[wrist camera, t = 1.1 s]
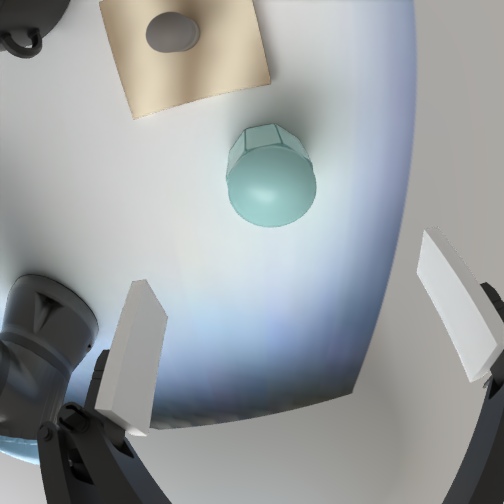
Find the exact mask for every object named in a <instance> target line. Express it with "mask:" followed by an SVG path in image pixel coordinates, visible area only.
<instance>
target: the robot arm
mask: <svg viewBox="0 0 504 504" xmlns="http://www.w3.org/2000/svg"><path fill="white" fill-rule="evenodd" d="M417 275H418V276H419V278H420V280H421V281H422V283H423V285H424V287H425V289H426V291H427V292H428V294H429V296H430V298H431V300H432V302H433V304H434V305H435V307H436V309H437V311H438V313H439V315H440V317H441V319H442V321H443V323H444V325H445V327H446V329H447V331H448V333H449V335H450V338H451V340H452V342H453V344H454V346H455V348H456V351H457V353H458V355H459V357H460V359H461V362H462V364H463V367H464V368H465V371H466V374H467V376H468V378H469V381H470V382H473V381H475V380H477V379H479V378H482V377H484V376H485V375H486V373H487V372H488V371H489V369H490V371H491V373H492V375H491V377H490V378H489V379H488V380H487V381H486V383H485V384H484V386H483V388H486V386H487V385H488V388H487V392H486V396H485V399H484V403H483V406H482V409H481V413H480V416H479V419H478V422H477V425H476V428H475V431H474V433H473V436H472V439H471V442H470V444H469V447H468V449H467V452H466V454H465V457H464V459H463V461H462V464H461V466H460V468H459V470H458V473H457V475H456V477H455V479H454V481H453V483H452V485H451V487H450V489H449V491H448V493H447V495H446V497H445V499H444V501H443V503H442V504H503V502H504V302H503V301H502V300H501V298H500V296H499V294H498V293H497V291H496V290H495V289H494V288H493V287H492V286H490V285H489V284H488V283H487V282H485V283H482V284H479V283H478V281H477V280H476V278H475V277H474V275H473V274H472V272H471V271H470V269H469V268H468V266H467V265H466V264H465V262H464V261H463V260H462V258H461V257H460V255H459V254H458V253H457V251H456V250H455V249H454V248H453V246H452V245H451V244H450V242H449V241H448V239H447V238H446V237H445V236H444V235H443V233H442V232H441V231H440V229H439V228H438V227H432V228H427V229H424V233H423V240H422V246H421V252H420V257H419V263H418V268H417ZM167 319H168V316H167V314H166V313H165V311H164V310H163V308H162V306H161V305H160V303H159V301H158V299H157V298H156V296H155V294H154V293H153V291H152V289H151V287H150V286H149V284H148V282H147V280H146V279H145V280H139V281H133V282H132V284H131V287H130V289H129V292H128V295H127V298H126V301H125V304H124V307H123V310H122V313H121V316H120V319H119V322H118V325H117V328H116V332H115V335H114V338H113V341H112V345H111V348H110V350H103V351H102V353H101V354H100V356H99V357H98V359H97V361H96V364H95V368H94V372H93V375H92V380H91V382H90V386H89V389H88V393H87V397H86V401H85V405H84V408H82V407H81V406H80V405H78V404H77V403H75V402H68V403H66V404H64V405H63V401H64V397H65V394H66V390H67V387H68V383H69V380H70V377H71V374H72V372H73V371H74V370H75V368H76V367H77V366H78V365H79V363H80V362H81V361H82V360H83V358H84V357H85V356H86V354H87V353H88V352H89V351H90V350H91V348H92V347H93V345H94V342H95V340H96V337H97V334H98V324H97V321H96V319H95V317H94V315H93V313H92V312H91V310H90V309H89V308H88V306H87V305H86V304H85V303H84V302H83V301H82V300H81V299H80V298H79V297H78V296H77V295H75V294H74V293H73V292H72V291H70V290H69V289H67V288H66V287H64V286H63V285H61V284H59V283H57V282H55V281H53V280H51V279H48V278H46V277H42V276H37V275H25V276H22V277H20V278H19V279H18V280H17V281H16V282H15V284H14V285H13V287H12V289H11V290H10V292H9V295H8V298H7V304H6V308H5V314H4V319H3V325H2V330H1V333H0V452H2V453H5V454H7V455H10V456H12V457H15V458H18V459H20V460H23V461H26V462H29V463H33V464H40V468H41V474H42V480H43V485H44V490H45V495H46V500H47V504H172V503H171V502H170V501H169V499H168V498H167V497H166V496H165V494H164V493H163V491H162V490H161V489H160V487H159V486H158V485H157V483H156V482H155V480H154V479H153V478H152V476H151V475H150V473H149V472H148V470H147V469H146V468H145V466H144V465H143V463H142V461H141V460H140V458H139V457H138V455H137V454H136V452H135V451H134V449H133V447H132V446H131V444H130V442H129V441H128V439H127V438H126V437H125V430H126V431H127V432H129V433H130V434H132V435H138V436H148V433H149V425H150V418H151V411H152V404H153V398H154V391H155V385H156V379H157V373H158V367H159V361H160V356H161V350H162V345H163V339H164V334H165V329H166V324H167ZM62 405H63V406H62Z"/></svg>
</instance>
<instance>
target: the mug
mask: <svg viewBox="0 0 504 504" xmlns="http://www.w3.org/2000/svg"><path fill="white" fill-rule="evenodd" d="M69 1H70V0H0V52H1V51H6V50H7V51H8V52H10V53H11V54H12V55H14V56H17V57H19V58H32V57H34V56H36V55H37V54H38V53H39V52H40V51H41V49H42V38H43V37H44V36H45V35H46V34H48V33H49V32H50V31H51V30H52V29H53V28H54V26H55V25H56V24H57V23H58V21H59V20H60V19H61V17H62V15H63V14H64V12H65V10H66V8H67V6H68V4H69ZM31 44H32V48H25V47H26V46H29V45H31Z"/></svg>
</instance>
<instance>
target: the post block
mask: <svg viewBox="0 0 504 504" xmlns="http://www.w3.org/2000/svg"><path fill="white" fill-rule="evenodd" d="M99 6H100V10H101V13H102V17H103V21H104V25H105V29H106V32H107V36H108V39H109V43H110V46H111V50H112V53H113V57H114V60H115V63H116V67H117V70H118V73H119V76H120V80H121V83H122V86H123V89H124V92H125V95H126V98H127V101H128V104H129V107H130V110H131V113H132V116H133V119H134V120H135V119H138V118H141V117H144V116H147V115H150V114H153V113H156V112H159V111H162V110H165V109H168V108H172V107H175V106H178V105H182V104H185V103H189V102H193V101H196V100H200V99H204V98H208V97H212V96H216V95H220V94H224V93H229V92H233V91H238V90H242V89H247V88H252V87H258V86H263V85H269V84H271V80H270V75H269V71H268V66H267V61H266V57H265V52H264V48H263V44H262V39H261V35H260V31H259V27H258V22H257V18H256V14H255V10H254V6H253V2H252V0H103V1H101V2H99Z"/></svg>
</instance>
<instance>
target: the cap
mask: <svg viewBox="0 0 504 504" xmlns="http://www.w3.org/2000/svg"><path fill="white" fill-rule="evenodd" d="M226 181H227V185H228V194H229V199H230V202H231V204H232V206H233V208H234V209H235V211H236V212H237V213H238V214H239V215H240V216H241V217H242V218H243V219H245V220H246V221H248V222H250V223H252V224H255V225H258V226H262V227H280V226H284V225H287V224H290V223H292V222H294V221H296V220H297V219H299V218H300V217H302V216H303V215H304V214H305V213H306V212H307V211H308V209H309V208H310V207H311V205H312V203H313V201H314V198H315V195H316V179H315V175H314V173H313V166H312V162H311V160H310V158H309V156H308V155H307V153H306V151H305V149H304V147H303V146H302V144H301V142H300V140H299V139H298V138H297V137H295V136H294V135H292V134H291V133H289V132H288V131H286V130H285V129H283V128H281V127H280V126H278V125H277V124H276V125H274V124H269V125H263V126H258V127H253V128H248V129H246V131H245V130H244V131H243V133H242V134H241V136H240V137H239V138H238V140H237V141H236V143H235V144H234V146H233V147H232V149H231V150H230V152H229V158H228V166H227V174H226Z"/></svg>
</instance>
